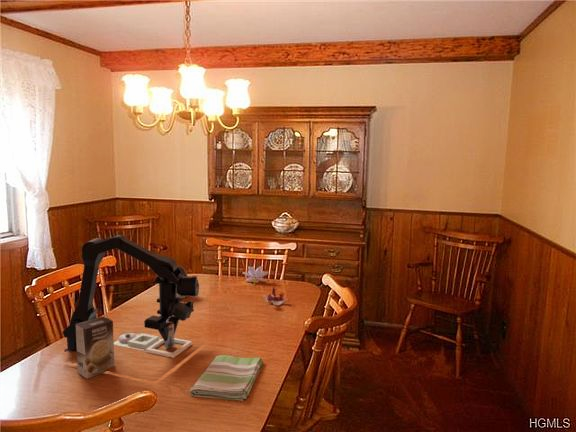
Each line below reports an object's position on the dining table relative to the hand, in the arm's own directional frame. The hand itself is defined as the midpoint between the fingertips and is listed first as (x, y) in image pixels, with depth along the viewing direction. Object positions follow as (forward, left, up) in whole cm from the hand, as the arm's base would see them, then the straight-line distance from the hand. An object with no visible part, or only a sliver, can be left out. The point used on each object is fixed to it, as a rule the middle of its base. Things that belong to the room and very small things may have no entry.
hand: (169, 338), depth 149 cm
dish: (0, 0, -4) cm, 4 cm away
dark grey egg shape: (+49, +30, -5) cm, 58 cm away
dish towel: (-8, -28, -5) cm, 30 cm away
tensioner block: (0, +14, -4) cm, 15 cm away
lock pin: (0, 0, -2) cm, 2 cm away
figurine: (+58, -16, -5) cm, 60 cm away
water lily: (+84, +5, -5) cm, 84 cm away
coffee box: (-20, +13, -5) cm, 24 cm away
